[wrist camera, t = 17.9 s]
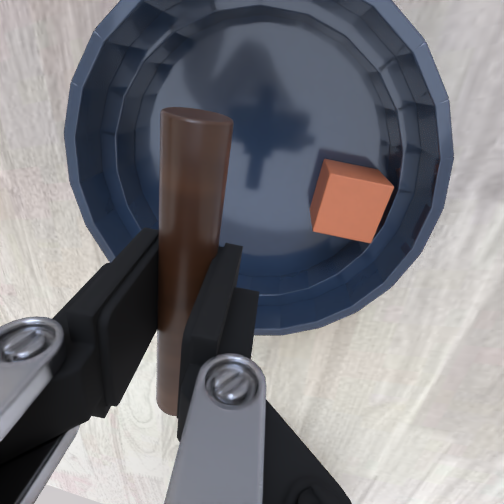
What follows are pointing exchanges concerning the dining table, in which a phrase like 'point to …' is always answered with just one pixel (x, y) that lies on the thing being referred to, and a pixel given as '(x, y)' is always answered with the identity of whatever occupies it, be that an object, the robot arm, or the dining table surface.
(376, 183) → the block
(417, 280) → the dining table surface
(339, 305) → the bowl
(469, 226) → the dining table surface
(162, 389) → the stick
